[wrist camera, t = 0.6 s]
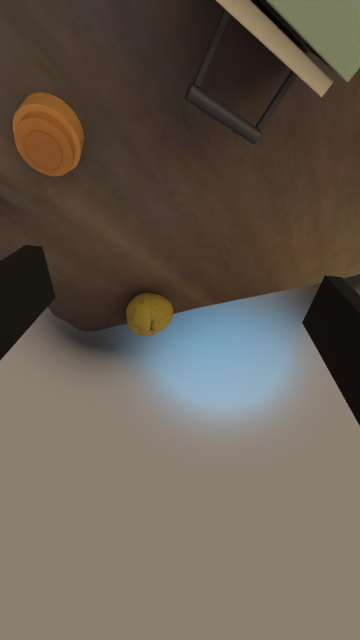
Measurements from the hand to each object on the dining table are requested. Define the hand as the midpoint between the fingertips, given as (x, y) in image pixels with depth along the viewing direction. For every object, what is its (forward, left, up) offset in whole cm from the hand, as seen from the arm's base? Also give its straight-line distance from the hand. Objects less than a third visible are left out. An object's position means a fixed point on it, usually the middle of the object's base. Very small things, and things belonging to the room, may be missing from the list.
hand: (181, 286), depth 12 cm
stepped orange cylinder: (-6, -13, -30) cm, 33 cm away
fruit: (+26, -31, -30) cm, 51 cm away
